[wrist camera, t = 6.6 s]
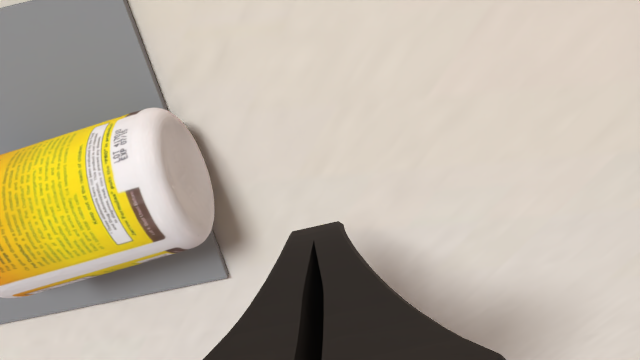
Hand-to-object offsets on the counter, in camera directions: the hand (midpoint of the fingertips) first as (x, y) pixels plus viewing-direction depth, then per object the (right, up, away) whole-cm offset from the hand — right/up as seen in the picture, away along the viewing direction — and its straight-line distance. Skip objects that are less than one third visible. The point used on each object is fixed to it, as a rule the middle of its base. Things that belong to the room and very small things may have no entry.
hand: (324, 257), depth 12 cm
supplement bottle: (-5, +2, +6) cm, 8 cm away
